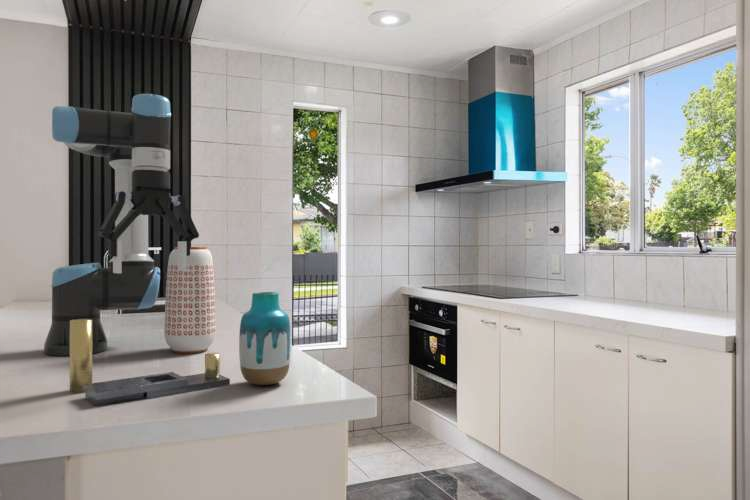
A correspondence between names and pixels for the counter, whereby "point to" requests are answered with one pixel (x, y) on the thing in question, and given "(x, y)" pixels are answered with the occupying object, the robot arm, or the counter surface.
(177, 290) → the vase
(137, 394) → the grey slide latch
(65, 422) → the counter surface
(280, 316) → the vase
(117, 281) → the robot arm
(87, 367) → the pin
